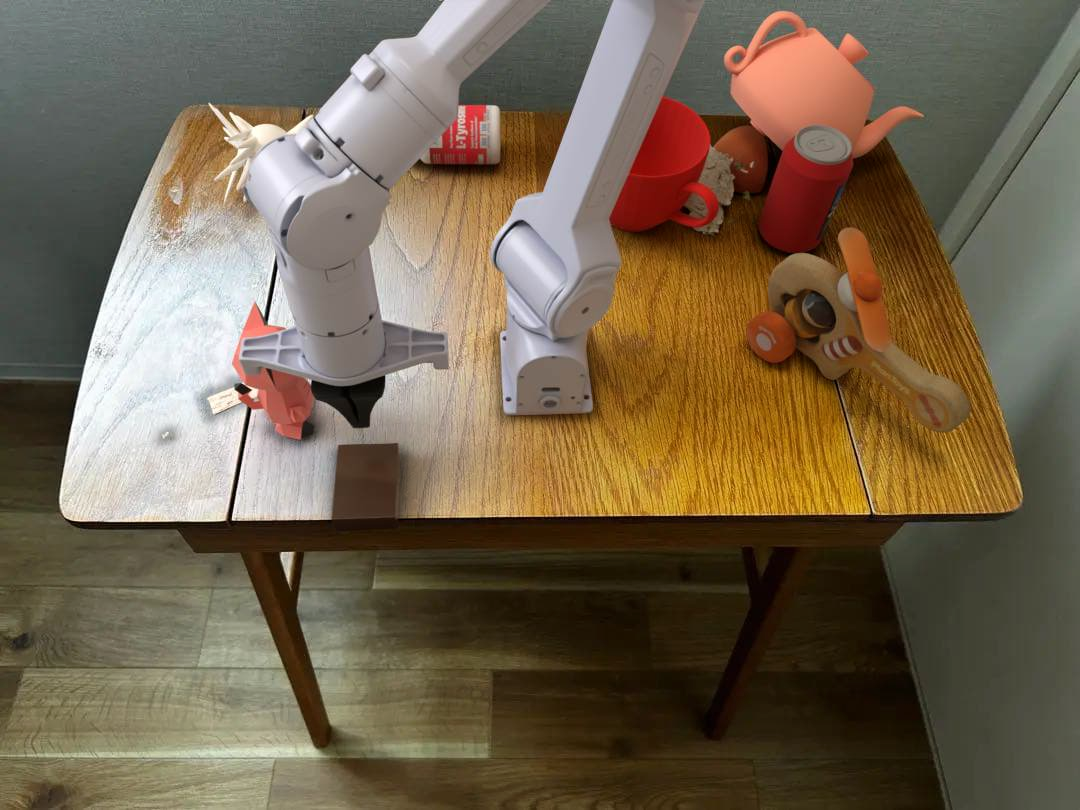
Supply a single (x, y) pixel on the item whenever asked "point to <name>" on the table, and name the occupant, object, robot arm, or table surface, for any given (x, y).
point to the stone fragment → (715, 189)
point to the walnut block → (366, 487)
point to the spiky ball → (248, 144)
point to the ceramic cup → (666, 172)
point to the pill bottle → (469, 138)
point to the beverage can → (806, 188)
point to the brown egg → (745, 157)
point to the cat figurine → (275, 387)
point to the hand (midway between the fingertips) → (361, 417)
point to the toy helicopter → (849, 330)
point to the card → (226, 400)
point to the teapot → (807, 86)
